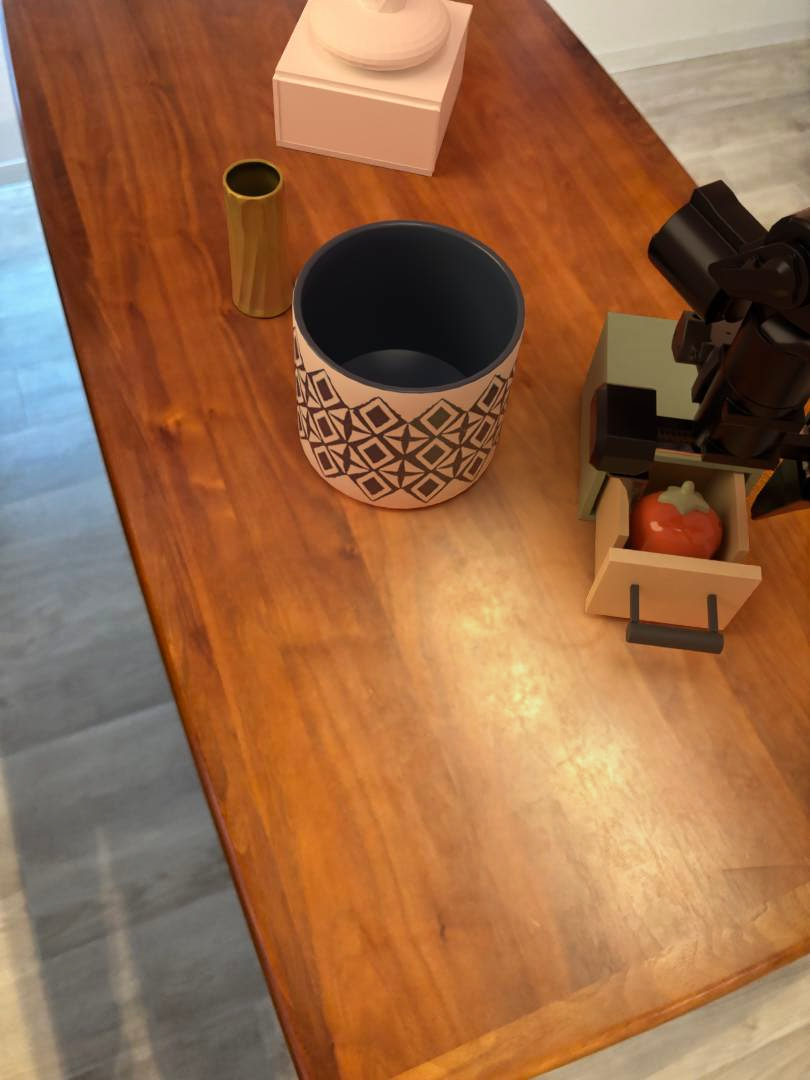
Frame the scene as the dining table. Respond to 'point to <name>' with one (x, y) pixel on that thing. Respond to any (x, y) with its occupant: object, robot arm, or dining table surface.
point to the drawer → (673, 565)
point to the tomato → (675, 524)
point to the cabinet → (647, 361)
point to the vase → (258, 238)
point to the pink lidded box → (372, 80)
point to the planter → (404, 360)
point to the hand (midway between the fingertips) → (691, 507)
